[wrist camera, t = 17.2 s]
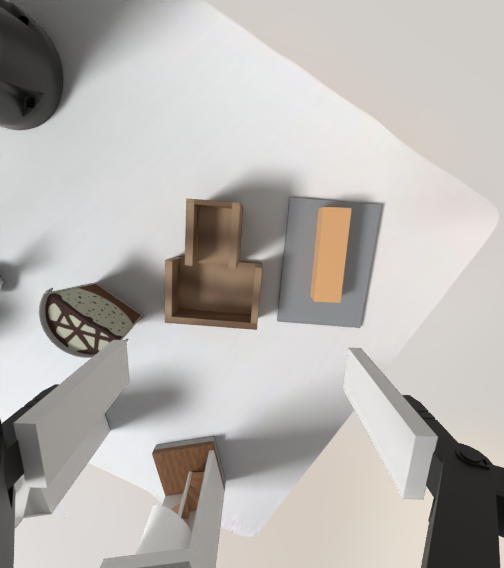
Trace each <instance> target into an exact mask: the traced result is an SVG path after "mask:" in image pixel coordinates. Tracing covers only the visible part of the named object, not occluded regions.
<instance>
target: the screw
mask: <svg viewBox="0 0 504 568" xmlns="http://www.w3.org/2000/svg"><path fill="white" fill-rule="evenodd" d="M3 283H4V281H3V279H2V278H1V276H0V289H1V287H2V285H3Z"/></svg>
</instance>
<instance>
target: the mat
mask: <svg viewBox="0 0 504 568" xmlns="http://www.w3.org/2000/svg"><path fill="white" fill-rule="evenodd" d="M381 206H382V205H380V204H367V203H355V202H342V201H330V200H317V199H305V198H292V197H290V201H289V210H288V220H287V230H286V239H285V249H284V259H283V268H282V278H281V288H280V297H279V307H278V317H277V321H279V322H292V323H304V324H317V325H330V326H343V327H355V328H360V327H361V321H362V315H363V309H364V304H365V298H366V292H367V286H368V281H369V275H370V269H371V264H372V258H373V252H374V246H375V241H376V235H377V229H378V224H379V218H380V212H381ZM321 207H339V208H352V209H351V218H350V226H349V235H348V243H347V251H346V260H345V268H344V277H343V285H342V294H341V302H340V303H335V302H314V301H313V299H312V298H311V297H310V295H311V284H312V274H313V263H314V252H315V241H316V231H317V220H318V209H319V208H321Z"/></svg>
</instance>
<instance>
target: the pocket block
mask: <svg viewBox="0 0 504 568" xmlns="http://www.w3.org/2000/svg"><path fill="white" fill-rule="evenodd" d="M242 216H243V207H242V205H241V203H236V202H223V201H211V200H198V199H186V236H185V257H173V258H170V259H168V260H165V323H177V324H190V325H203V326H216V327H229V328H241V329H254V330H257V322H258V311H259V299H260V287H261V276H262V264H261V263H251V262H239V260H240V245H241V231H242Z"/></svg>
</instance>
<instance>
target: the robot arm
mask: <svg viewBox="0 0 504 568" xmlns="http://www.w3.org/2000/svg"><path fill="white" fill-rule="evenodd" d="M62 85H63V75H62V67H61V63H60V59H59V56H58V53H57V51H56V49H55V47H54V45H53V43H52V41H51V40H50V38H49V37H48V35H47V34H46V33H45V31H44V30H43V29H42V28H41V27H40V26H39V25H38V24H37V23H36V22H35V21H34V20H33V19H32V18H31V17H29V16H28V15H27V14H26V13H25V12H24V11H23V10H21V9H20V8H19V7H17V6H16V5H14V4H13V3H11V2H9V1H7V0H0V126H1V127H4V128H7V129H13V130H25V129H30V128H34V127H36V126H38V125H40V124H42V123H43V122H44V121H46V120H47V119H48V118H49V117H50V116H51V115H52V113H53V112H54V110H55V109H56V107H57V105H58V103H59V100H60V97H61V93H62ZM129 382H130V381H129V369H128V356H127V343H126V340H113V341H111V342H110V343H109V344H108V345H107V346H105V347H104V348H103V349H102V350H101V351H99V352H98V353H97V354H96V355H95V356H93V357H92V358H91V359H90V360H88V361H87V362H86V363H85V364H84V365H82V366H81V367H80V368H79V369H78V370H76V371H75V372H74V373H73V374H72V375H70V376H69V377H68V378H67V379H66V380H64V381H63V382H62V383H61V384H60V385H57V384H55V385H53V386H52V387H50V388H48V389H46V390H44V391H42V392H41V393H40V394H38V395H37V396H36V397H35V398H33V400H32V401H30V402H28V403H27V404H26V405H25V406H24V407H22V408H21V409H19V410H18V411H17V412H16V413H14V414H13V415H12V416H11V417H9V418H8V419H7V420H6V421H4V422H3V423H2V424H1V420H0V568H13V563H14V530H15V496H16V491H15V486H14V484H15V483H16V482H17V481H18V480H19V478H20V477H21V476H22V475H23V474H24V479H25V484H26V487H36V488H47V487H48V486H49V485H50V483H51V482H52V481H53V479H54V478H55V477H56V476H57V474H58V473H59V472H60V470H61V469H62V468H63V467H64V465H65V464H66V463H67V461H68V460H69V459H70V458H71V456H72V455H73V454H74V452H75V451H76V450H77V449H78V447H79V446H80V445H81V444H82V442H83V441H84V440H85V438H86V437H87V436H88V435H89V433H90V432H91V431H92V429H93V428H94V427H95V426H96V424H97V423H98V422H99V420H100V419H101V418H102V417H103V415H104V414H105V413H106V411H107V410H108V409H109V408H110V406H111V405H112V404H113V402H114V401H115V400H116V399H117V397H118V396H119V395H120V394H121V392H122V391H123V390H124V388H125V387H126V386H127V385H128V383H129ZM343 390H344V392H345V393H346V395H347V397H348V399H349V401H350V403H351V405H352V406H353V408H354V410H355V412H356V414H357V416H358V417H359V419H360V421H361V423H362V425H363V427H364V428H365V430H366V432H367V434H368V436H369V438H370V439H371V441H372V443H373V445H374V447H375V449H376V451H377V452H378V454H379V456H380V458H381V459H382V461H383V463H384V465H385V467H386V469H387V471H388V472H389V474H390V476H391V478H392V480H393V482H394V484H395V485H396V487H397V489H398V491H399V493H400V495H401V497H402V498H403V499H418V500H419V499H420V500H423V499H424V495H425V490H426V487H427V488H428V489H429V491H430V492H431V494H432V495H433V497H434V500H433V504H432V508H431V512H430V516H429V526H428V532H427V537H426V543H425V548H424V554H423V559H422V565H421V568H500V554H499V537H498V536H501V537H504V468H502V467H499V466H495V465H493V464H492V463H491V462H490V461H489V459H488V458H487V457H485V456H484V455H483V454H482V453H480V452H479V451H477V450H475V449H474V448H472V447H470V446H467V445H464V444H461V443H458V442H457V441H456V440H455V439H454V438H453V437H452V436H451V435H450V434H449V433H448V432H447V430H446V429H445V428H444V427H443V426H442V425H441V424H440V423H439V422H438V421H437V420H435V418H434V417H433V416H432V414H431V413H429V412H428V410H427V409H426V408H425V407H424V406H423V405H422V404H421V403H420V402H419V401H417V400H416V399H414V398H413V397H411V396H410V395H401V394H400V392H399V391H398V390H397V389H396V388H395V387H394V386H393V384H392V383H391V382H390V381H389V380H388V379H387V378H386V376H385V375H384V374H383V373H382V372H381V371H380V369H379V368H378V367H377V366H376V365H375V364H374V362H373V361H372V360H371V359H370V358H369V357H368V355H367V354H366V353H365V352H364V351H363V350H362V349H361V348H348V354H347V362H346V369H345V377H344V385H343Z"/></svg>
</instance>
